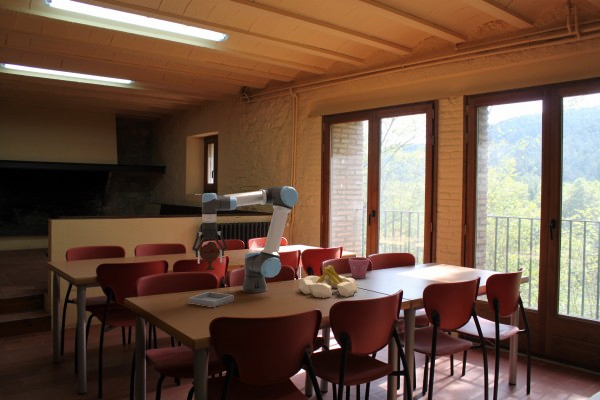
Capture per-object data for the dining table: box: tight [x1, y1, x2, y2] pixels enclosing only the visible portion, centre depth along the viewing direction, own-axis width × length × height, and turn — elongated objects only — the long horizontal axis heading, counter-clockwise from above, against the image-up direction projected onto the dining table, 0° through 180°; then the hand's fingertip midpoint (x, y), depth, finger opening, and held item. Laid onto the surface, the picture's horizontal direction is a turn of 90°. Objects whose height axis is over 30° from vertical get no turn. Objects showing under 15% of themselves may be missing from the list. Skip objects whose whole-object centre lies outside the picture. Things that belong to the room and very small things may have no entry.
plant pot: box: [348, 257, 370, 279], centre depth 345 cm, size 14×14×13 cm
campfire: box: [298, 264, 359, 299], centre depth 296 cm, size 35×34×17 cm
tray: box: [187, 291, 235, 307], centre depth 266 cm, size 17×17×4 cm
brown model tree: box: [199, 241, 220, 271], centre depth 265 cm, size 11×11×15 cm
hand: (209, 262), depth 265 cm, fingers closed on brown model tree, 11 cm apart
